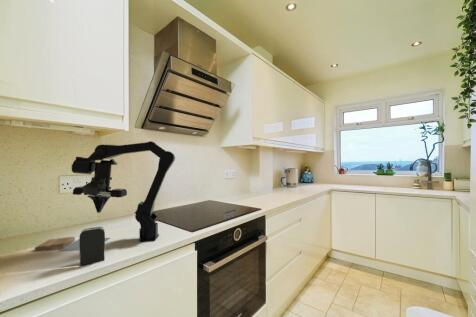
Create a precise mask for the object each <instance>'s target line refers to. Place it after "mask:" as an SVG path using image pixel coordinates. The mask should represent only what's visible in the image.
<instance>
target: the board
mask: <svg viewBox="0 0 476 317" xmlns="http://www.w3.org/2000/svg"><path fill="white" fill-rule="evenodd" d="M75 237H76V236H68V237H60V238H58V237H57V238H51V239H48V240H46V241H44V242H42V243H40V244H39V245H37V246H35V247H34V251H35V252H42V251H53V250H61V249H63V248H65V247H66V246H68V245H69V244H71V243H73V242H75V241H76V239H75Z"/></svg>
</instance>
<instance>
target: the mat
mask: <svg viewBox="0 0 476 317" xmlns="http://www.w3.org/2000/svg"><path fill="white" fill-rule="evenodd" d="M110 239H111V237H105V243H106V242H107V241H108V240H110ZM76 251H79V238H78V239H77V240H75V241H74V242H72V243H71V244H69V245H68V246H66V247H65V248H63V249H58V250H57V252H76Z"/></svg>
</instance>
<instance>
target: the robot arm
mask: <svg viewBox="0 0 476 317" xmlns="http://www.w3.org/2000/svg"><path fill="white" fill-rule="evenodd" d="M142 152H151V153H152V154H154V155H155V156H156V157H158V158H159V160H158V164H157V170H156V173H155V176H154V178H153V180H152V183H151V185H150V188H149V189H148V192H147V195H146V198H144V201H140V202H139V203H138V204H137V208H136V211H134V214H135V215H134V218H135V220H136V221H137V223H138V224H139V225H140V228H139V231H138V232H139V233H138V234H139V240H138V241H139V242H151V241H152V242H153V241H156V240H157V239H158V237H159V236H160V234H159V230H158V228H159V222H157V221H158V219H159V216H158V215H157V214H156V213H154V211H155V210H154V209H155V205H156V204H155V203H156V199H157V196H158V194H159V192H160V189H161V188H162V185H163V182H164V179H165V177H166V175H167V174H168V171H169V170H170V168H172V166H173V164H174V162H175V161H176V156H175V153H173V152H172V151H168V150H165V149H164V148H162V147H161V146H159V145H158V144H157V143H156V142H154V141H152V140H151V141H145V142H139V143H138V142H137V143H130V144H129V143H127V144H120V145H117V144H99V145H97V146H95V148H94V151H93V152H92V153H91V154H90V155H89V156H88V157H83V156H75V160H73V162H72V164H71V171H72V173H73V174H80V175H81V174H84V175H91V174H93V172H94V174H93V176H91V179H90V182H87V183H85V184H84V185H82V186H81V185H80V186H76V187H74V188H73V190H72V195H77V196H80V195H82V194H83V195H84V196H87V197H86V198H89V199H90V200H92V202H93V205H94V208H95V210H96V213H97V214H100V213H101V212H102V210H103V209H104V207H105V205H106V204H107V202H108V201H109V199H111V198H123V197H126V196H127V195H128V191H127V189H126V188H115V189H114V188H113V189H112V187H111V186H110V184H111V180H112V179H113V177H111V174H112V166H116V165H117V166H118V162H116V160H115V159H113V158H116V157H119V156H122V155H128V154H135V153H136V154H137V153H142ZM108 159H109V160H108Z"/></svg>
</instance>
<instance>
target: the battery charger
mask: <svg viewBox="0 0 476 317" xmlns="http://www.w3.org/2000/svg"><path fill="white" fill-rule="evenodd" d="M78 237H79V238H78V239H79V267H85V266H89V265H93V264H96V263H102V262H104V261H105V258H106V257H105V250H106V247H105V246H106V242H105V238H106V232H105V229H104V227H103V226H97V227H96V226H95V227H89V228H84V229H83V230H82V231H81V232H80V233H79V236H78Z"/></svg>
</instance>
